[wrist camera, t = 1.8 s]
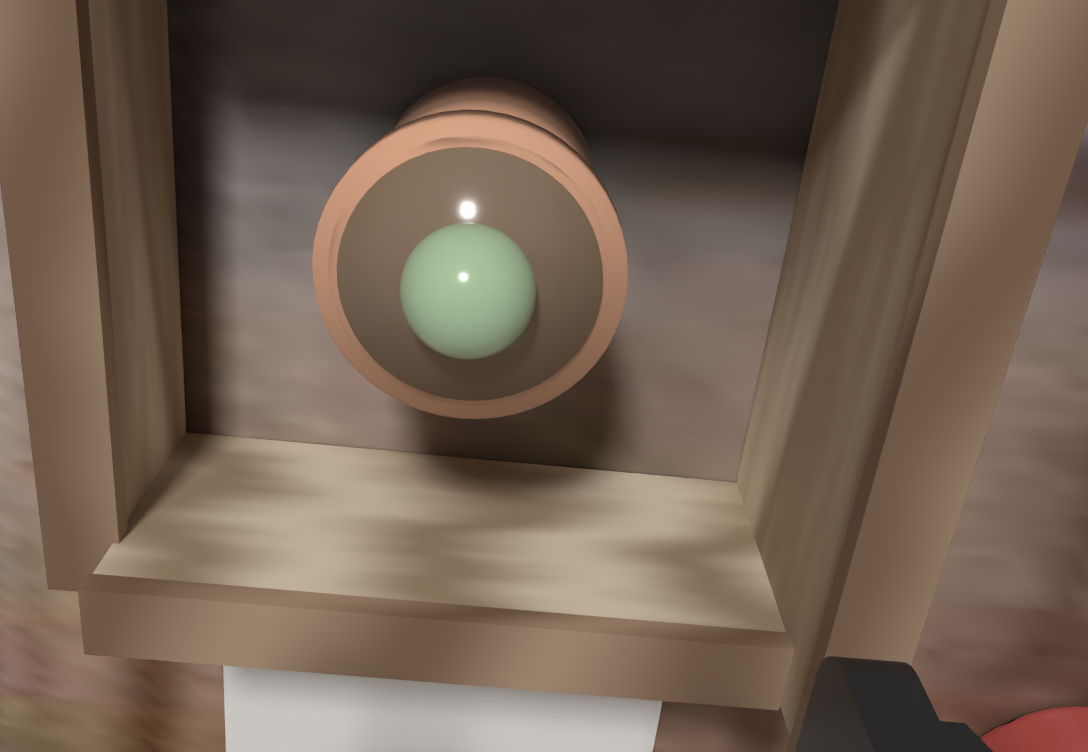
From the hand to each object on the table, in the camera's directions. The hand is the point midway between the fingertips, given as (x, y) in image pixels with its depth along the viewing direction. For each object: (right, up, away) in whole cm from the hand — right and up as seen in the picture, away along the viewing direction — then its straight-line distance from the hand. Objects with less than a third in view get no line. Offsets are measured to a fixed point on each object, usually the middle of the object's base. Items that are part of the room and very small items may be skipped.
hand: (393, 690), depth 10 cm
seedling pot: (0, +8, +17) cm, 19 cm away
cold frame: (0, +8, +17) cm, 19 cm away
